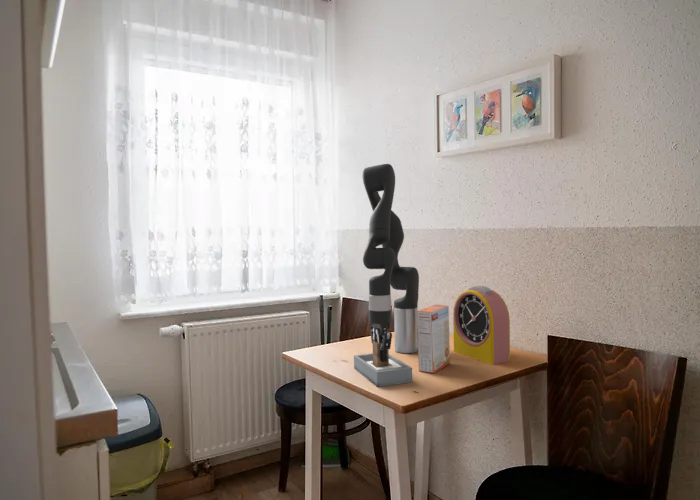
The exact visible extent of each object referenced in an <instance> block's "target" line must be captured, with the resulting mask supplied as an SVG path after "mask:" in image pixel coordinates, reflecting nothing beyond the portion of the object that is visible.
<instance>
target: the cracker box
mask: <svg viewBox="0 0 700 500" xmlns="http://www.w3.org/2000/svg"><path fill="white" fill-rule="evenodd" d="M449 313H450V309H449V305H445V304H444V305H443V304H433V305H429V306H427V307H425V308H422V309H419V310H418V311H417V322H418V351H417V352H418V371H419V372H422V373H429V374H435V373H437V372H438V371H440V370H442V369H443V368H444V367H446V366H447V365H449V364H451V349H450V345H451V344H450V343H451V342H450V314H449Z"/></svg>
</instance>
